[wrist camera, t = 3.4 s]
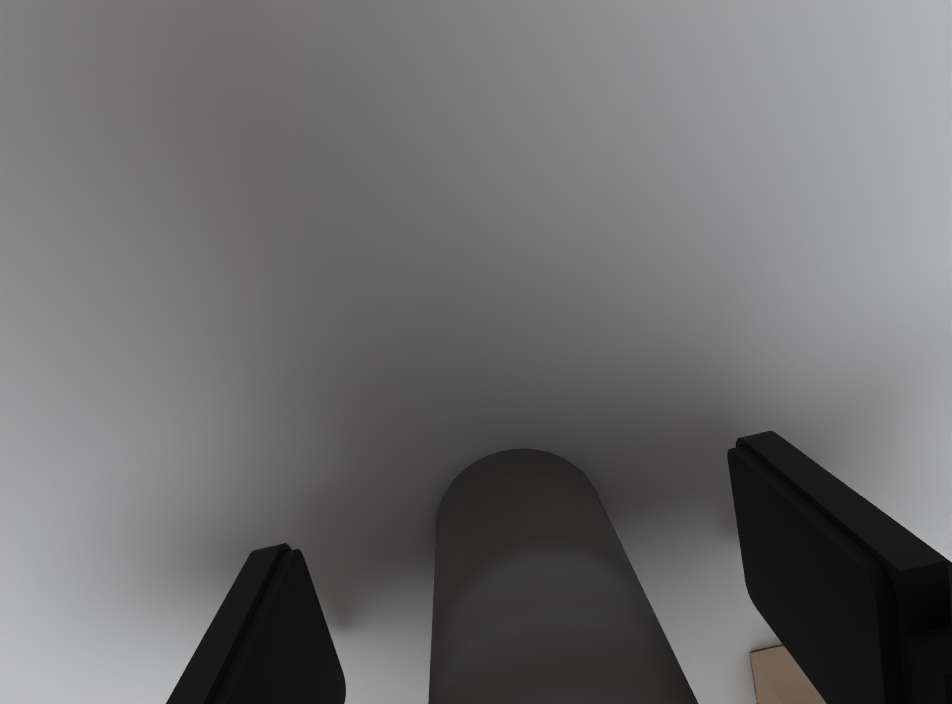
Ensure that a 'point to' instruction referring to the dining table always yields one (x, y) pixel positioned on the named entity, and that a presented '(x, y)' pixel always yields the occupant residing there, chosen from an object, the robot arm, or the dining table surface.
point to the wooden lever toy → (540, 595)
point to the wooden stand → (781, 679)
